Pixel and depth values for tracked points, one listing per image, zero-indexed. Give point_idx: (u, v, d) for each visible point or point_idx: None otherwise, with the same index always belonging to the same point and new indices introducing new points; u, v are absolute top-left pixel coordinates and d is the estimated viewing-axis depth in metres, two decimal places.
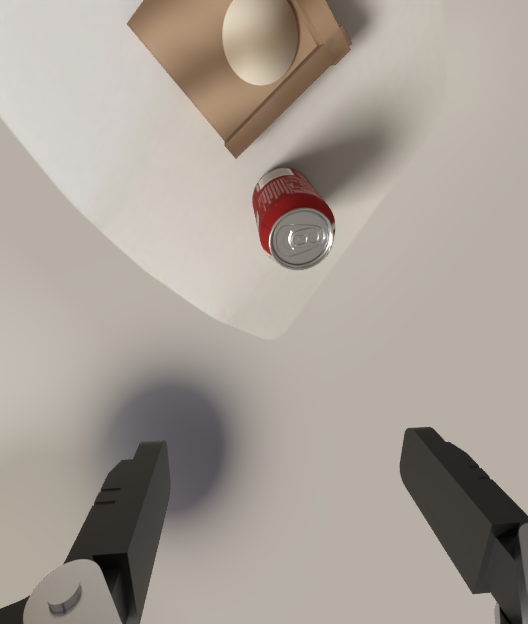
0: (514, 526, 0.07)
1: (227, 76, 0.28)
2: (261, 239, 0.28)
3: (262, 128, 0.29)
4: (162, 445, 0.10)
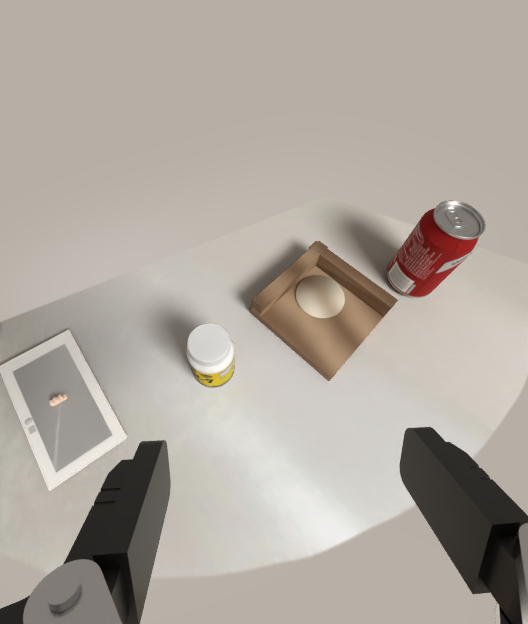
0: (514, 526, 0.07)
1: (344, 315, 0.40)
2: (466, 251, 0.35)
3: (373, 283, 0.40)
4: (162, 445, 0.10)
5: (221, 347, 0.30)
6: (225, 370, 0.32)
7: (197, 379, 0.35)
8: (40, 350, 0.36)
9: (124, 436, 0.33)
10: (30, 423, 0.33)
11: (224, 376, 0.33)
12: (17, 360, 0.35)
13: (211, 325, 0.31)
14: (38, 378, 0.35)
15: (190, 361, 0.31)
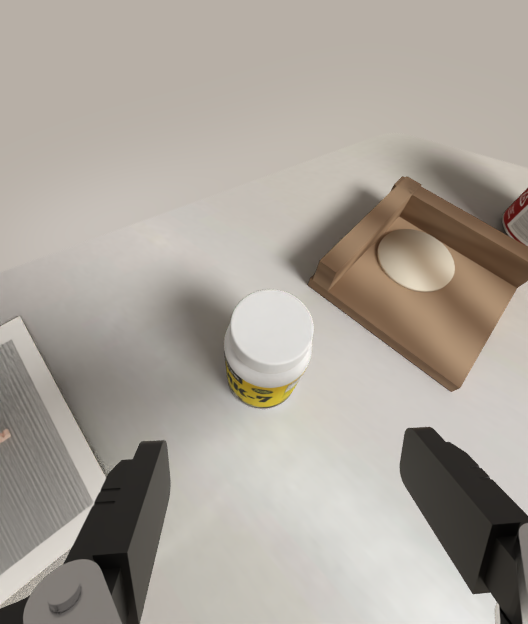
0: (515, 526, 0.07)
1: (457, 287, 0.26)
2: None
3: (503, 235, 0.25)
4: (162, 445, 0.10)
5: (299, 334, 0.15)
6: (297, 379, 0.17)
7: (237, 395, 0.20)
8: None
9: None
10: None
11: (290, 390, 0.18)
12: None
13: (274, 293, 0.16)
14: None
15: (233, 364, 0.16)
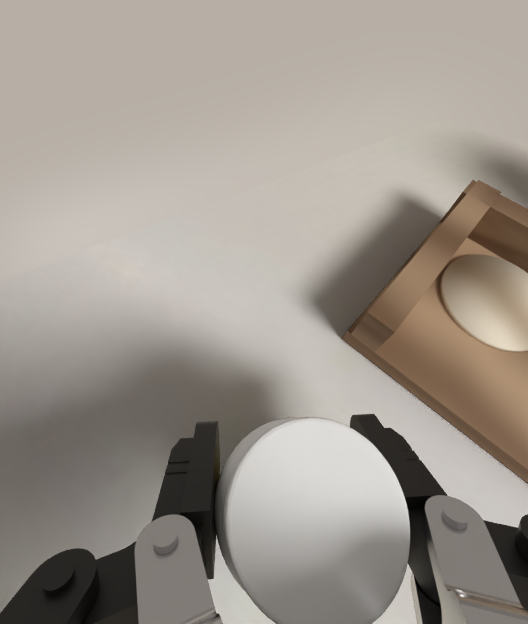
0: (426, 499, 0.08)
1: None
2: None
3: None
4: (217, 425, 0.10)
5: (381, 542, 0.07)
6: None
7: None
8: None
9: None
10: None
11: None
12: None
13: (317, 428, 0.08)
14: None
15: (233, 568, 0.08)
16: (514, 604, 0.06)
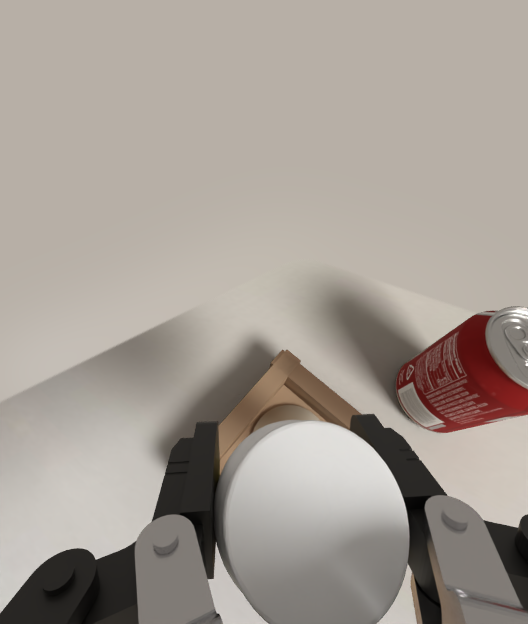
0: (426, 499, 0.08)
1: None
2: None
3: None
4: (217, 425, 0.10)
5: (380, 545, 0.07)
6: None
7: None
8: None
9: None
10: None
11: None
12: None
13: (316, 431, 0.07)
14: None
15: (232, 572, 0.08)
16: (514, 604, 0.06)
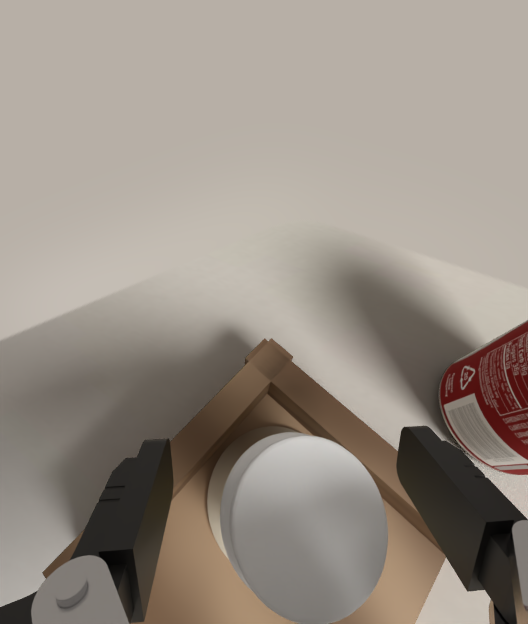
0: (509, 524, 0.07)
1: None
2: None
3: None
4: (166, 443, 0.10)
5: (363, 543, 0.08)
6: None
7: None
8: None
9: None
10: None
11: None
12: None
13: (309, 445, 0.09)
14: None
15: (237, 567, 0.09)
16: None
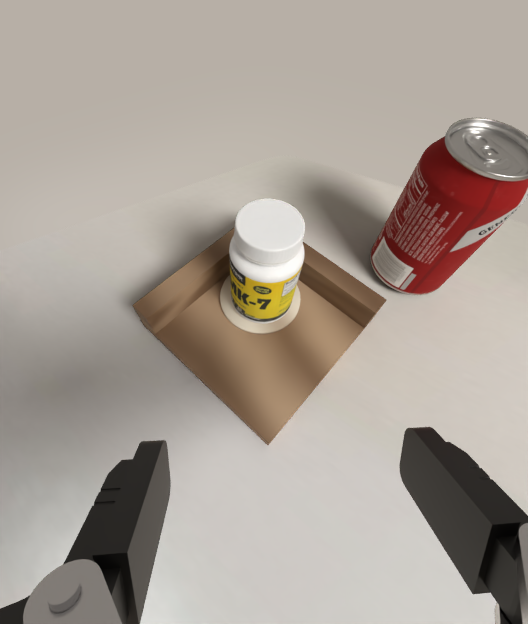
0: (515, 526, 0.07)
1: (298, 328, 0.24)
2: (508, 205, 0.19)
3: (345, 274, 0.24)
4: (162, 445, 0.10)
5: (293, 230, 0.18)
6: (292, 280, 0.20)
7: (240, 309, 0.23)
8: None
9: None
10: None
11: (286, 296, 0.21)
12: None
13: (271, 201, 0.19)
14: None
15: (238, 263, 0.19)
16: None
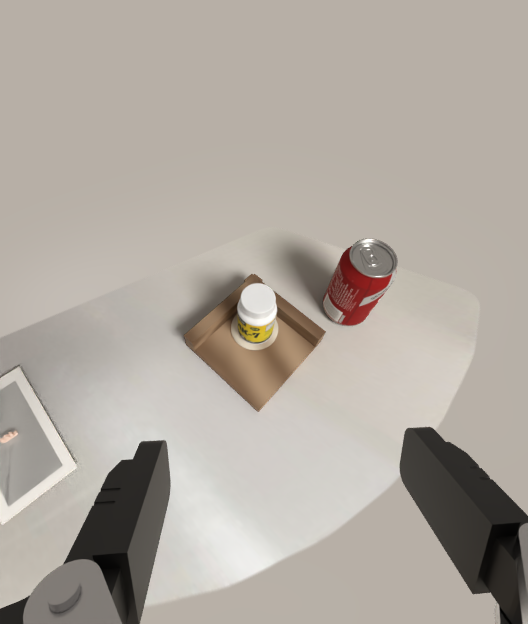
0: (515, 526, 0.07)
1: (276, 346, 0.42)
2: (380, 287, 0.36)
3: (303, 316, 0.42)
4: (162, 445, 0.10)
5: (269, 301, 0.35)
6: (270, 324, 0.38)
7: (243, 336, 0.41)
8: None
9: (74, 466, 0.35)
10: None
11: (268, 331, 0.39)
12: None
13: (259, 284, 0.36)
14: None
15: (242, 316, 0.37)
16: None
